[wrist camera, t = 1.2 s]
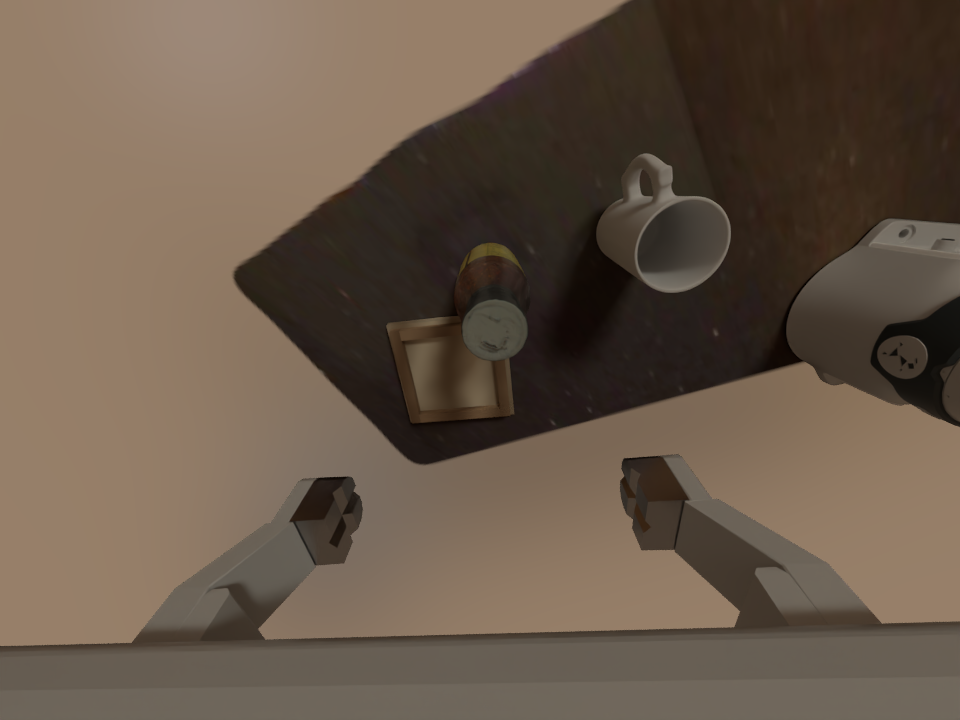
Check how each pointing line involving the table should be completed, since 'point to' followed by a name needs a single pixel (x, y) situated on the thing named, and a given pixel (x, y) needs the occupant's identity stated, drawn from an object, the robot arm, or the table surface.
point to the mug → (663, 231)
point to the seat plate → (447, 373)
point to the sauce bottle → (492, 302)
